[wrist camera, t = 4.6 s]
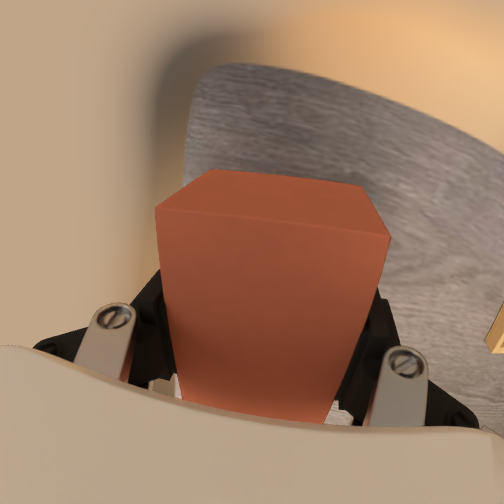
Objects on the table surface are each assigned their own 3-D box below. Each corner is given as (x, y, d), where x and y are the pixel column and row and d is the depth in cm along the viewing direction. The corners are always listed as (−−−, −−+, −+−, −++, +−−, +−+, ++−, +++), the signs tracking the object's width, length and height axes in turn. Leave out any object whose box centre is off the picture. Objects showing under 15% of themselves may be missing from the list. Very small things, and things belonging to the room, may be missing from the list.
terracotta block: (209, 169, 10) (153, 207, 6) (361, 186, 9) (392, 236, 6) (213, 344, 13) (185, 413, 10) (320, 361, 13) (316, 436, 9)
